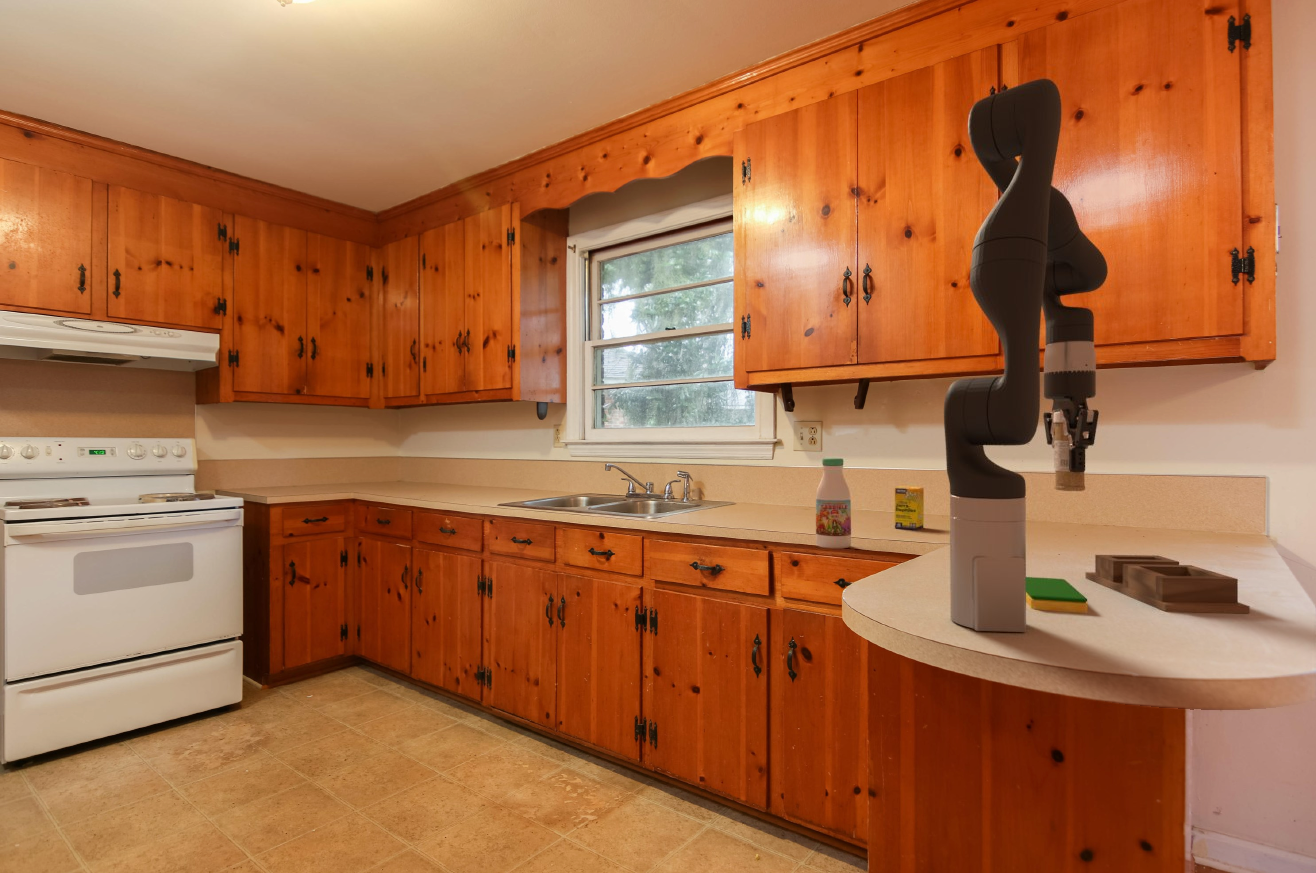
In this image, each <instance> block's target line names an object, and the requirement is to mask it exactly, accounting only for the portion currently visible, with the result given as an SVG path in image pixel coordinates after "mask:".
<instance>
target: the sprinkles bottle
mask: <svg viewBox="0 0 1316 873" xmlns="http://www.w3.org/2000/svg"><path fill="white" fill-rule="evenodd" d="M1054 423H1055V424H1054V425H1055V449H1054V473H1055V474H1054V489H1055V490H1056V491H1063V492H1083V491H1085V490H1086V486H1085V485H1086V484H1085V471H1084V472H1071V471H1070V470H1069V450H1072V449H1070V448H1069V442H1068V437H1066V436H1065V435H1064V431H1063V424H1062V423H1063V420H1062V419H1061V413H1060V412H1055V413H1054ZM1070 429H1071V428H1070ZM1076 429H1077V428H1074V429H1072V430H1076ZM1074 438H1075V436H1074Z"/></svg>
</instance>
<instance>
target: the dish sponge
mask: <svg viewBox="0 0 1316 873" xmlns="http://www.w3.org/2000/svg"><path fill="white" fill-rule="evenodd" d="M1087 602H1088V598H1087V597H1085V595H1083V594H1082V593H1081V592H1080V591H1079V590H1077V589H1076V588H1075V587H1074V586H1073V585H1072V584H1070V582H1068V581H1067V580H1066V579H1064V578H1054V577H1053V578H1052V577H1051V578H1050V577H1036V576H1035V577H1033V576H1031V577H1030V576H1026V604H1028V606H1029V607H1030V609H1033V610H1040V611H1041V610H1042V611H1055V612H1067V613H1083V614H1085V613H1086V614H1087V613H1088V603H1087Z"/></svg>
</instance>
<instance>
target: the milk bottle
mask: <svg viewBox="0 0 1316 873" xmlns="http://www.w3.org/2000/svg"><path fill="white" fill-rule="evenodd" d="M822 468H823V471H822V476H821V480H820V481H819V484H818V486H817V489H816V493H815V494H816V495H815V544H816V546H817V547H820V548H825V549H848V548H850V547H851V545H852V511H851V510H852V504H851V502H852V501H851V492H850V488H849V486H848V483H847V482H846V480H845V479H846V478H845V476H844V473H843V468H844V458H842V457H824V458H822Z"/></svg>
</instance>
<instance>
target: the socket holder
mask: <svg viewBox="0 0 1316 873" xmlns="http://www.w3.org/2000/svg"><path fill="white" fill-rule="evenodd" d="M1094 556H1095V559H1094V560H1095V561H1094V562H1095V563H1094V564H1095V566H1094V567H1095V569H1094V570H1095V571H1094V572H1091V571H1090V572H1089V571H1088V572H1085V579H1087V580H1088V581H1089V580H1090V581H1092V582H1094V583H1096V584H1099V585H1102V586H1104V587H1106V588H1109V589H1111V590H1113V591H1115V592H1118V593H1121V595H1122V594H1123V595H1125V596H1127V597H1130V598H1133V599H1135V600H1137V601H1140V602H1142V603H1144V604H1146V605H1149V606H1151V607H1154V608H1156V609H1159V610H1161V611H1162V612H1168V613H1169V612H1170V613H1171V612H1173V613H1215V614H1217V613H1218V614H1227V613H1228V614H1250V605H1247V604H1244V603H1241V602H1239V601H1238V600H1239V599H1238V598H1239V597H1238V596H1239V595H1238V594H1239V593H1238V591H1239V589H1238V588H1239V587H1238V586H1239V585H1238V582H1239V580H1238V578H1236V577H1232V576H1228V575H1225V574H1221V573H1219V572H1215V571H1211V570H1209V569H1205V568H1202V567H1198V566H1196V565H1190V564H1180V561H1178V560H1175V559H1171V558H1169V557H1168V558H1167V557H1165V556H1160V555H1154V554H1152V555H1147V554H1143V555H1139V554H1138V555H1136V554H1134V555H1133V554H1129V555H1128V554H1095V555H1094Z"/></svg>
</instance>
